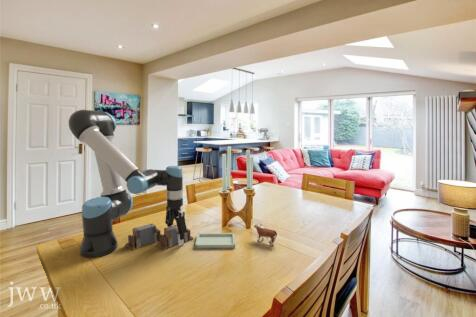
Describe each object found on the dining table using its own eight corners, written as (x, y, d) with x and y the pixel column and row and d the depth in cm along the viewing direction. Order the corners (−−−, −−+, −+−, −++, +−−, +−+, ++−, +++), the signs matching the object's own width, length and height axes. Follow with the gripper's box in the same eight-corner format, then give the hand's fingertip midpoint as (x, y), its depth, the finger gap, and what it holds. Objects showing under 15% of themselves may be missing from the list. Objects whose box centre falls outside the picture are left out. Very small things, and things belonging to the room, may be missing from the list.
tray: (194, 248, 117) (194, 245, 117) (197, 236, 130) (197, 233, 130) (235, 248, 118) (235, 244, 118) (234, 236, 131) (234, 233, 131)
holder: (130, 250, 115) (129, 240, 114) (125, 245, 119) (125, 235, 119) (163, 239, 126) (163, 230, 125) (157, 235, 131) (157, 226, 130)
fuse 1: (136, 247, 118) (135, 231, 117) (133, 244, 121) (132, 228, 120) (156, 240, 125) (156, 225, 124) (153, 238, 128) (152, 223, 126)
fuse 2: (168, 246, 119) (167, 230, 118) (164, 243, 122) (163, 228, 121) (186, 240, 125) (186, 225, 124) (182, 237, 128) (182, 223, 127)
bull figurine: (255, 236, 132) (256, 221, 131) (278, 244, 123) (278, 228, 122) (250, 239, 128) (251, 223, 127) (273, 247, 120) (274, 231, 119)
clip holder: (163, 249, 116) (162, 239, 115) (157, 245, 120) (156, 235, 120) (193, 239, 127) (193, 230, 126) (186, 235, 131) (186, 226, 131)
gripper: (193, 201, 115) (194, 247, 118) (170, 192, 131) (171, 232, 134) (179, 204, 110) (180, 252, 113) (157, 194, 126) (158, 236, 129)
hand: (175, 241), depth 124 cm, fingers open, 9 cm apart
